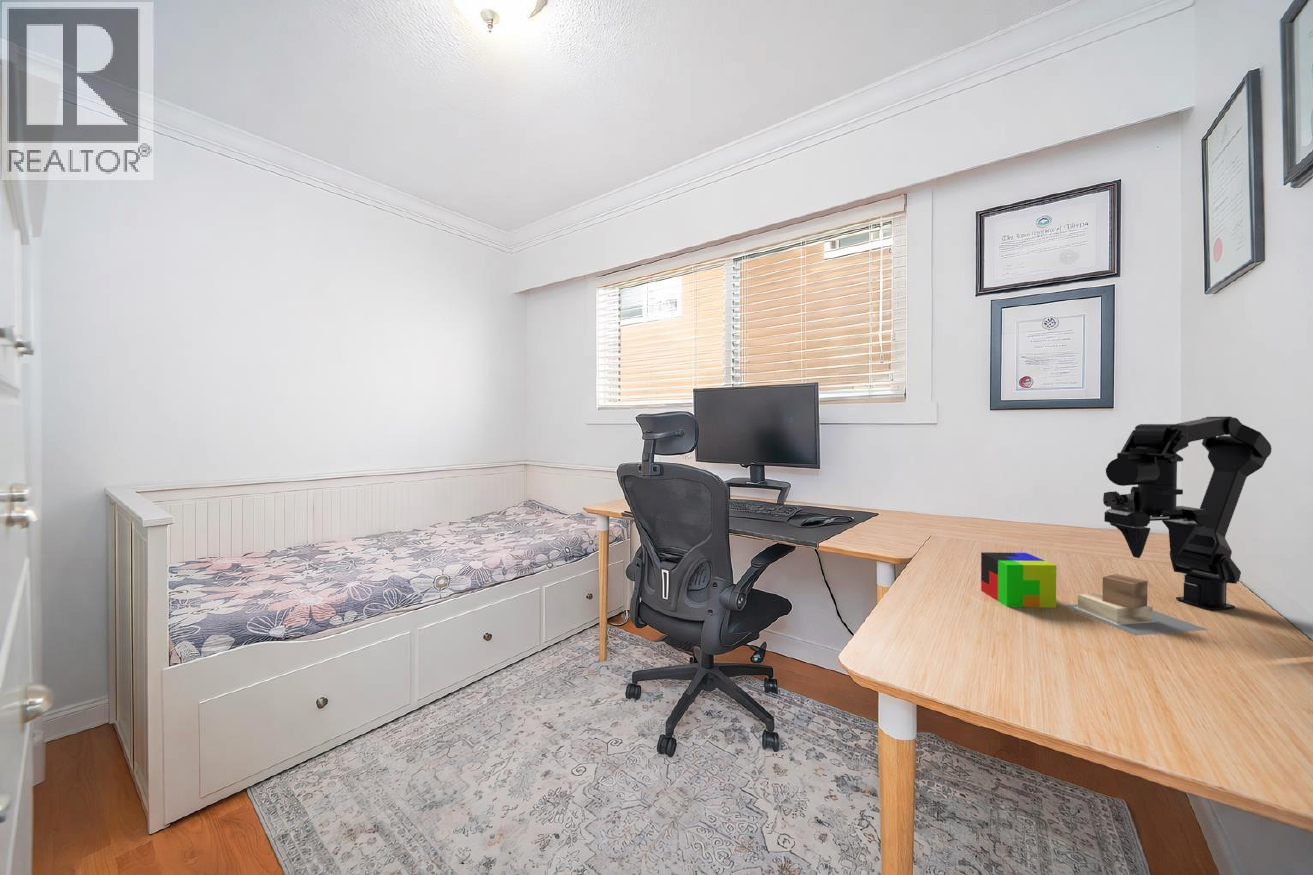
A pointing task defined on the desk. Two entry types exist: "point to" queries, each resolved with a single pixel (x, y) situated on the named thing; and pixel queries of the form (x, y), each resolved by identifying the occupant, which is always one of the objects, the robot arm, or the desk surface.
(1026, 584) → the puzzle toy
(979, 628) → the desk surface
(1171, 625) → the build mat
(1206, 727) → the desk surface
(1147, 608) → the maple slab
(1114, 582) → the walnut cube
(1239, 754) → the desk surface
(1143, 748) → the desk surface
